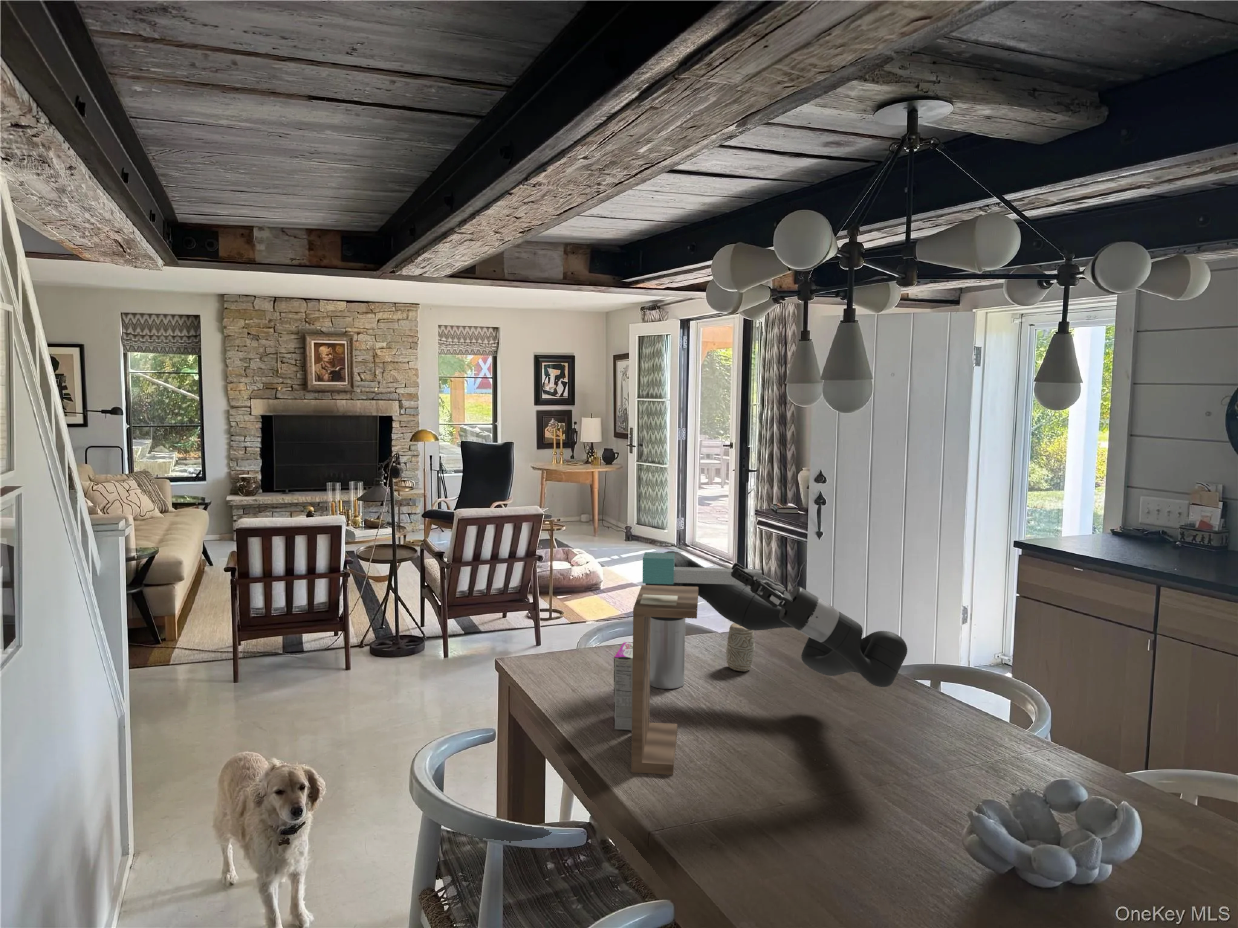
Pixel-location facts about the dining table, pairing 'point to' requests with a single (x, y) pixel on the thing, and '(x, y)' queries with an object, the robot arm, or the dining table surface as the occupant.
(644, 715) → the bracket shelf
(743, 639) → the carving
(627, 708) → the candy bar box
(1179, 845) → the dining table surface
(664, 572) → the grey and teal bar
